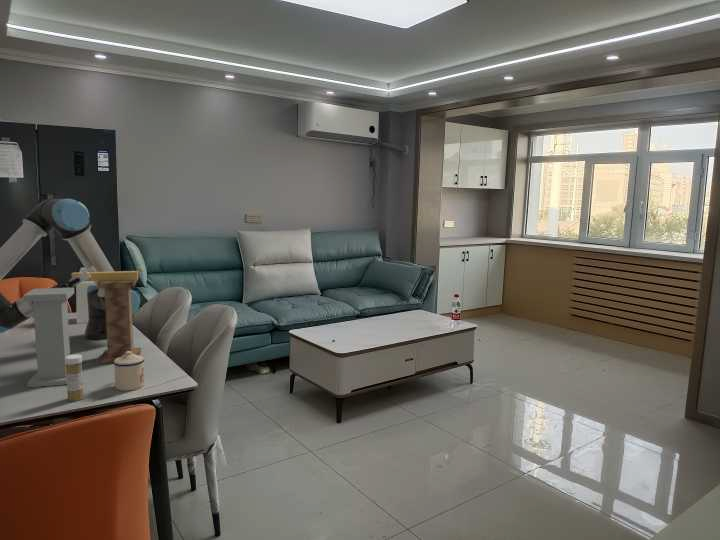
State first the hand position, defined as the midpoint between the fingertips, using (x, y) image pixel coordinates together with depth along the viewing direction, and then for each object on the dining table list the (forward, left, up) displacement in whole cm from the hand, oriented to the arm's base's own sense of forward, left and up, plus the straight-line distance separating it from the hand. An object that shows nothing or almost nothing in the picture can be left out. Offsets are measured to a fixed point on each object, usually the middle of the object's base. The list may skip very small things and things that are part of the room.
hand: (91, 271), depth 192 cm
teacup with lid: (+12, +33, -34) cm, 49 cm away
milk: (-39, -57, -34) cm, 77 cm away
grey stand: (+21, +8, -33) cm, 40 cm away
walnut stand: (-6, +6, -33) cm, 34 cm away
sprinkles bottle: (+28, +29, -34) cm, 52 cm away
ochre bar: (-3, +3, -3) cm, 6 cm away
